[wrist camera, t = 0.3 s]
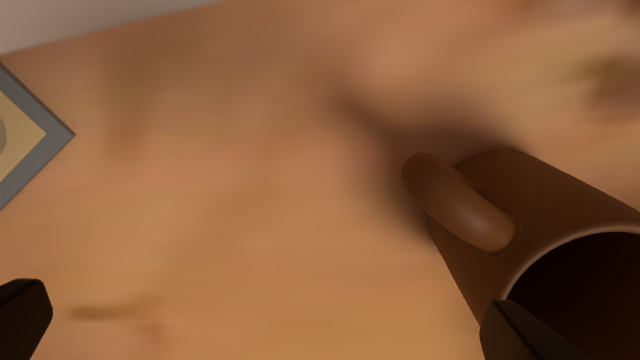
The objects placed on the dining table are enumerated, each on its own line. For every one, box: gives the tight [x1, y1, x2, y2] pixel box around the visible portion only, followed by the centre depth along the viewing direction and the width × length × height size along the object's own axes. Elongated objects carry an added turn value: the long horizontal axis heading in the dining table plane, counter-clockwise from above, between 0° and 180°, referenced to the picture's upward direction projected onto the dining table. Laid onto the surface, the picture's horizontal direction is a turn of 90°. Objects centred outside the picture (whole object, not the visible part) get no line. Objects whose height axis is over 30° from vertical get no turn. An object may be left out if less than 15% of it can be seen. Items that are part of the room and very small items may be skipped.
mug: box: [401, 150, 640, 360], centre depth 17 cm, size 12×8×9 cm, turn 54°
